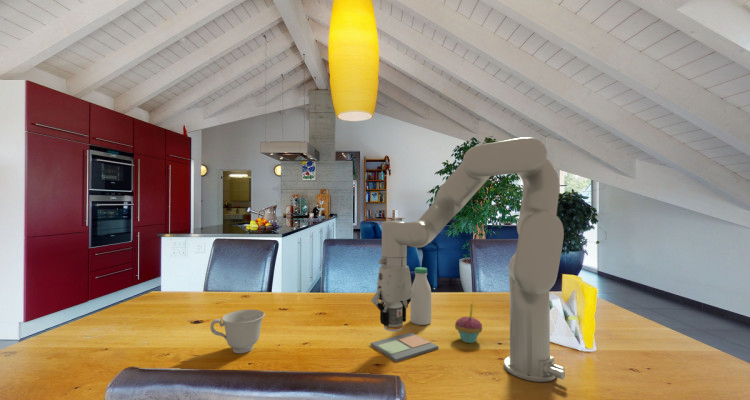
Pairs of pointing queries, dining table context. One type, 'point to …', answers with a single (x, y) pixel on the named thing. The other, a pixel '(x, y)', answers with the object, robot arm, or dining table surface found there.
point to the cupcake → (468, 328)
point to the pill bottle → (395, 316)
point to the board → (403, 346)
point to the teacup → (240, 329)
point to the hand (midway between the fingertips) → (393, 321)
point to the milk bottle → (420, 298)
